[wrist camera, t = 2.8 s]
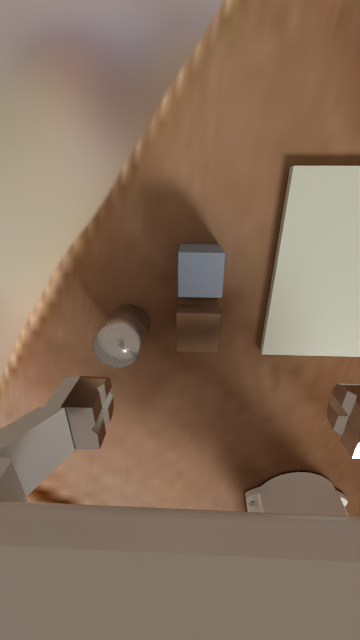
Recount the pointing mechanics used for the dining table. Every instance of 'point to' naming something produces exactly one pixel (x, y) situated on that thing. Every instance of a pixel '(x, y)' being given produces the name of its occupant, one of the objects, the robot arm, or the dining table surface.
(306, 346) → the sage board
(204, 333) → the walnut block
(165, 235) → the dining table surface
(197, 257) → the slate blue block
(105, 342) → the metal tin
